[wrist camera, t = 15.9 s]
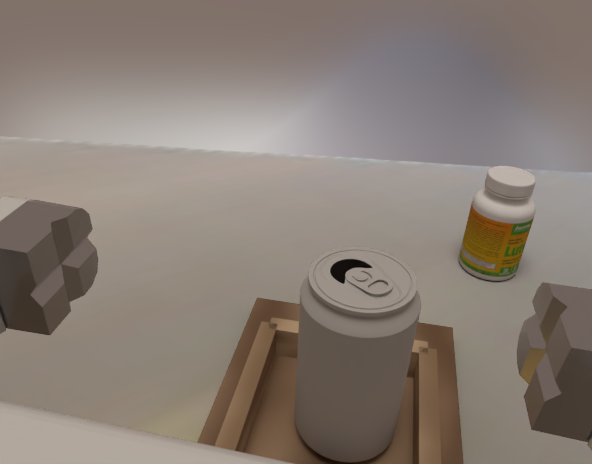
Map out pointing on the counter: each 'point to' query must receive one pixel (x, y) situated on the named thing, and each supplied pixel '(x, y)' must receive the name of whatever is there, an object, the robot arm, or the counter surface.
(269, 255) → the counter surface
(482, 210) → the supplement bottle
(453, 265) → the counter surface
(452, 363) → the tray
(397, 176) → the counter surface
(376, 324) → the beverage can
